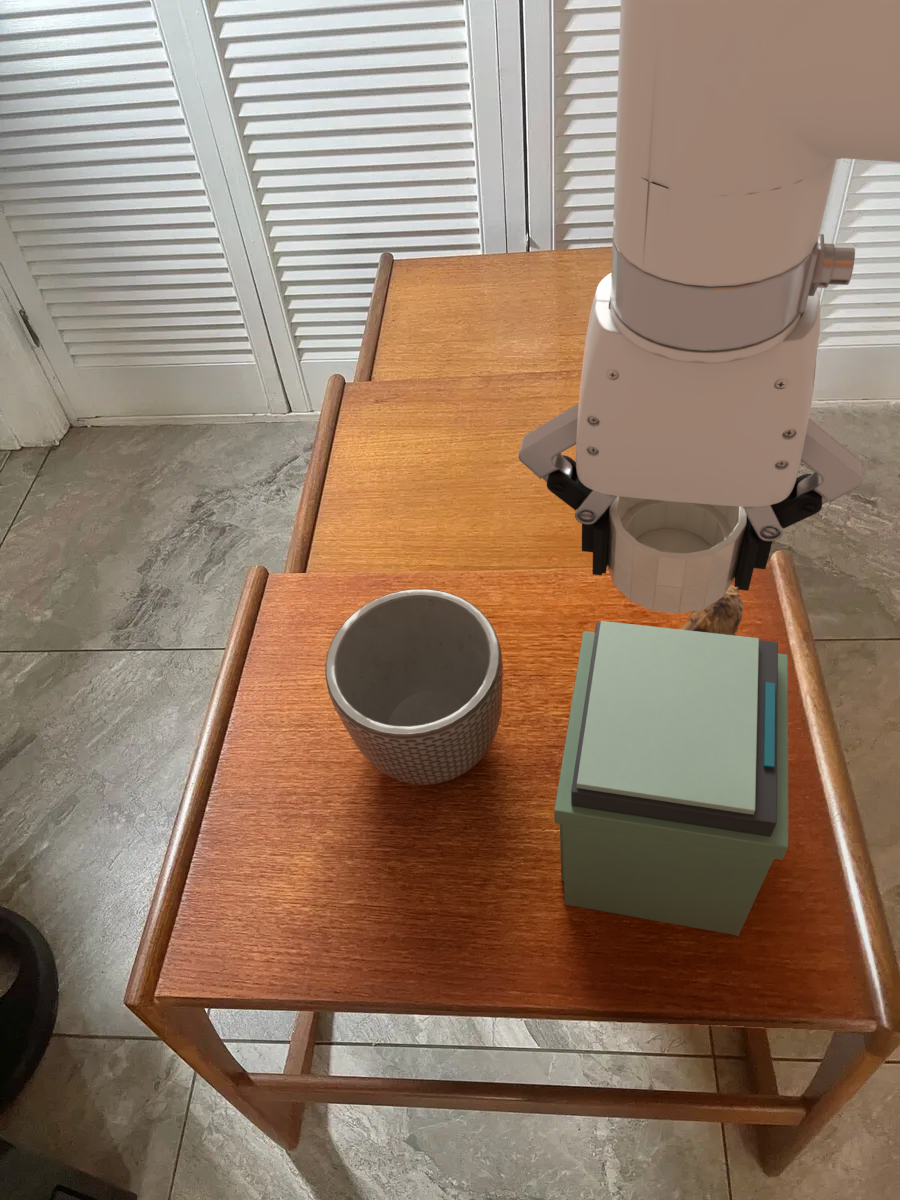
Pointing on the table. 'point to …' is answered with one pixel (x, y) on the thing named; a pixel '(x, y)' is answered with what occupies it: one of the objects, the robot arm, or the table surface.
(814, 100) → the robot arm
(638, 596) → the bowl
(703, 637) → the scale
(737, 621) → the lion figurine
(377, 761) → the planter
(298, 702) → the table surface
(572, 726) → the stand
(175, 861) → the table surface
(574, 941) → the table surface
